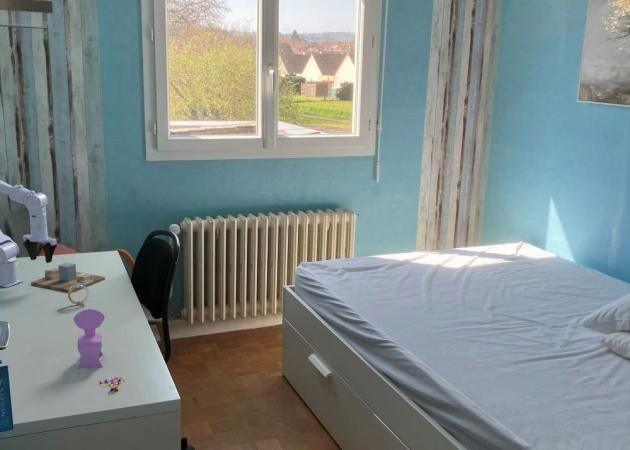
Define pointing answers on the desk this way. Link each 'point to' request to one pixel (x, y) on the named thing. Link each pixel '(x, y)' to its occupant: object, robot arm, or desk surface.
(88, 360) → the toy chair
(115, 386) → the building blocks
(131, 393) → the desk surface
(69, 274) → the slate block
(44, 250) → the robot arm
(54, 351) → the desk surface
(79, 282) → the ring
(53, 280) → the wooden board
